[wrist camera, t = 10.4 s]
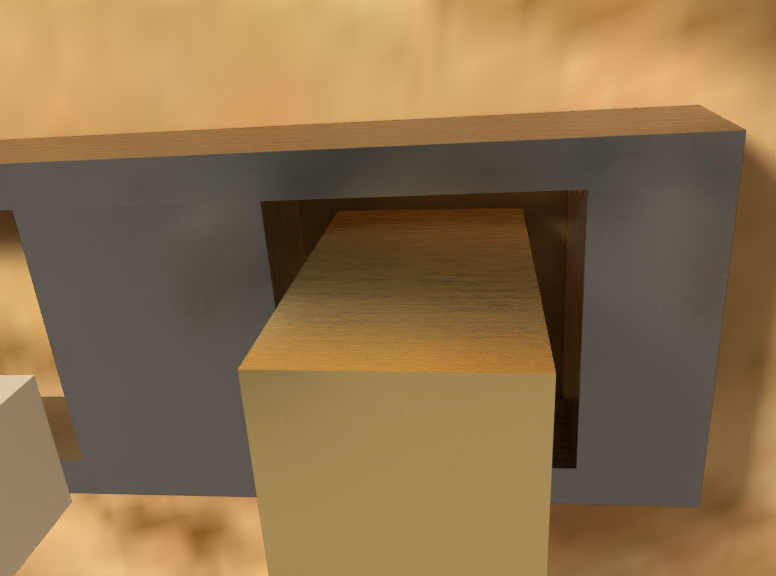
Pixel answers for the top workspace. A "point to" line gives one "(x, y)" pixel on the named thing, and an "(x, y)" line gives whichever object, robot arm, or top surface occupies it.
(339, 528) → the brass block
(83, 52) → the top surface
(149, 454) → the gray slotted rack
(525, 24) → the top surface
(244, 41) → the top surface
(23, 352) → the top surface
